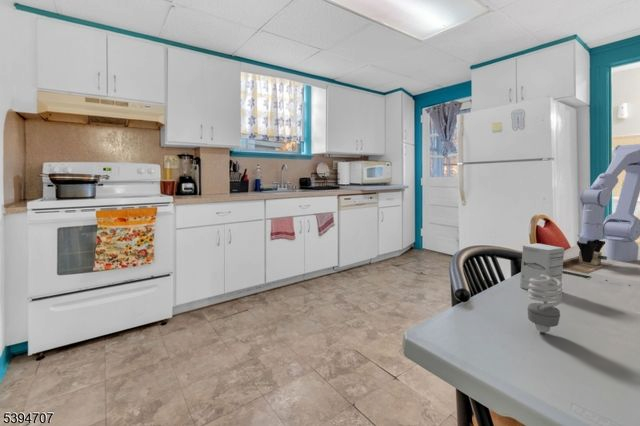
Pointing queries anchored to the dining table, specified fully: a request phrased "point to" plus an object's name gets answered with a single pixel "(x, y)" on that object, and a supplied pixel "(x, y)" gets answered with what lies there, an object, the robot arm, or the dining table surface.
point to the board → (581, 267)
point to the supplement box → (541, 263)
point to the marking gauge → (594, 258)
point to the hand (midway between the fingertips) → (589, 261)
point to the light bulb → (544, 312)
